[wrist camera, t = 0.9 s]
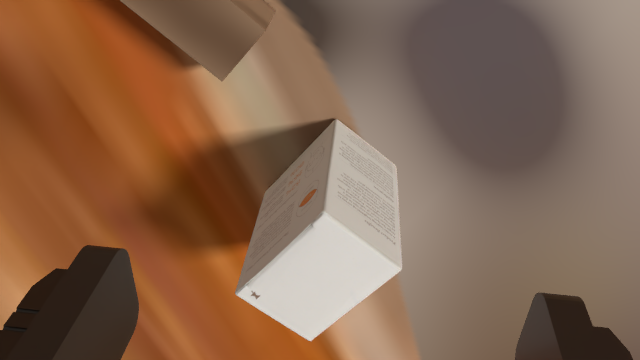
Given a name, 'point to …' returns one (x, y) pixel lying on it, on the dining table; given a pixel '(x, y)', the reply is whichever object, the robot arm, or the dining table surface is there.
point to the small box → (324, 234)
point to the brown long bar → (208, 27)
